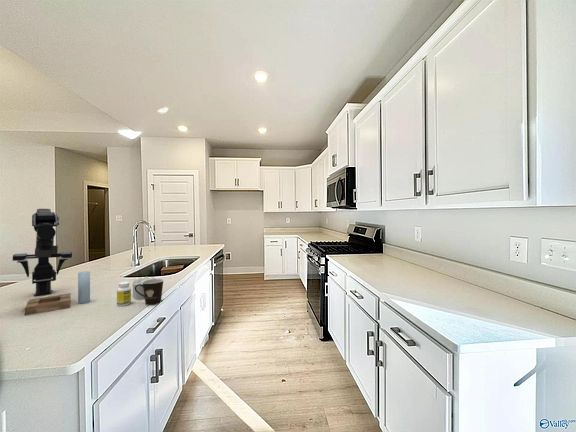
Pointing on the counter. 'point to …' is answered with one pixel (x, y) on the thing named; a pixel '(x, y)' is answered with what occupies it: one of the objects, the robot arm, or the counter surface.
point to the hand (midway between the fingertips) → (43, 275)
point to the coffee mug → (152, 291)
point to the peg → (83, 287)
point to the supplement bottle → (123, 294)
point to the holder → (48, 304)
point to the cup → (139, 288)
